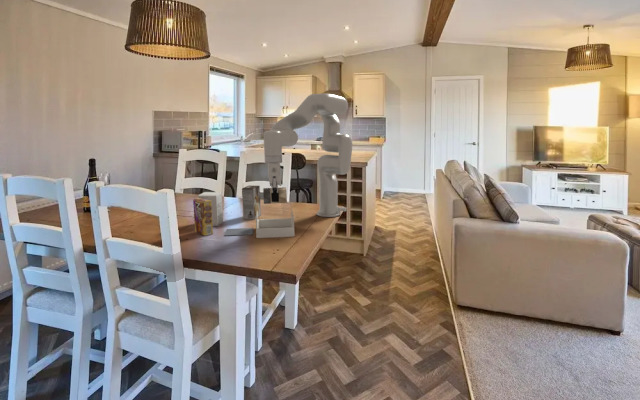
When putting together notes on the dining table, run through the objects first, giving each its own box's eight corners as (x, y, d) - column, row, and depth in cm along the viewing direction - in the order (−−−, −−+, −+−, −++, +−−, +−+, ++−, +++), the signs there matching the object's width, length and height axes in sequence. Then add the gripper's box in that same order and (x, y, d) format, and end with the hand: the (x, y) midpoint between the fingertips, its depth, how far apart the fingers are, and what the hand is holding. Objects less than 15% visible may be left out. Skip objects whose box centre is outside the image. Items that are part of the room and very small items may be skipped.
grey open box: (292, 226, 182) (291, 209, 180) (294, 236, 166) (294, 218, 164) (257, 227, 180) (257, 211, 178) (256, 237, 164) (255, 219, 162)
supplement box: (199, 226, 183) (197, 195, 180) (205, 221, 192) (203, 191, 189) (218, 226, 182) (216, 195, 179) (223, 221, 191) (222, 191, 188)
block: (286, 200, 173) (285, 187, 172) (286, 202, 169) (286, 189, 167) (264, 201, 172) (263, 188, 171) (263, 203, 167) (263, 190, 166)
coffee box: (249, 214, 204) (248, 185, 201) (261, 215, 203) (260, 185, 199) (242, 219, 195) (241, 188, 192) (254, 219, 194) (253, 188, 191)
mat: (253, 228, 178) (253, 227, 178) (252, 235, 168) (252, 234, 168) (226, 229, 176) (226, 228, 176) (224, 236, 167) (224, 235, 167)
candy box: (213, 234, 170) (211, 200, 167) (205, 236, 167) (202, 201, 164) (203, 230, 176) (201, 197, 173) (194, 232, 173) (192, 199, 170)
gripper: (282, 161, 158) (284, 204, 162) (281, 157, 175) (283, 196, 179) (264, 162, 157) (266, 205, 162) (264, 157, 174) (266, 196, 178)
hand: (275, 199), depth 170 cm, fingers closed on block, 5 cm apart
